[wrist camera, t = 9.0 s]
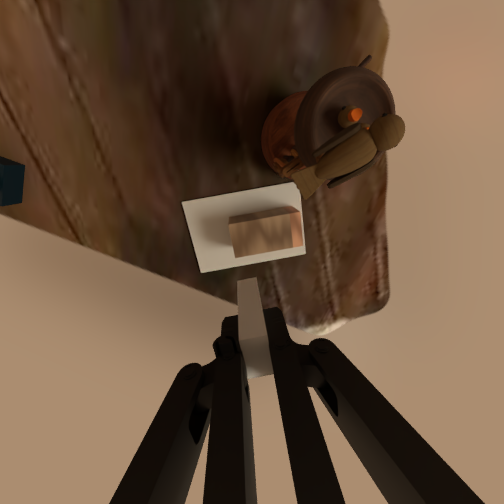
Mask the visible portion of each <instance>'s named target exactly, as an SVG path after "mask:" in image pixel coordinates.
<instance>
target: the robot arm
mask: <svg viewBox="0 0 504 504" xmlns="http://www.w3.org/2000/svg"><path fill="white" fill-rule="evenodd" d="M237 289H238V315H235V316H229V317H225V319H224V320H223V322H222V328H221V329H222V330H221V336H220V337H218V338H217V339H216V340H215V341H214V343H213V349H214V352H215V355H216V359H215V360H213V361H212V362H210V363H209V364H207V365H204V366H201V365H200V364H198V363H190V364H188V365H186V366H184V367H183V368H182V369H181V370H180V371H179V373H178V374H177V376H176V378H175V380H174V381H173V384H172V385H171V387H170V389H169V391H168V393H167V395H166V397H165V399H164V401H163V402H162V404H161V406H160V408H159V410H158V412H157V414H156V416H155V418H154V419H153V421H152V423H151V425H150V427H149V429H148V431H147V433H146V435H145V437H144V438H143V441H142V442H141V444H140V446H139V448H138V450H137V452H136V454H135V456H134V457H133V459H132V461H131V463H130V465H129V467H128V469H127V471H126V473H125V475H124V476H123V478H122V480H121V482H120V484H119V486H118V488H117V490H116V492H115V494H114V496H113V497H112V499H111V501H110V503H109V504H185V501H186V497H187V495H188V491H189V488H190V485H191V482H192V478H193V475H194V472H195V469H196V466H197V462H198V459H199V456H200V453H201V449H202V446H203V443H204V440H205V437H206V433H207V430H208V427H209V424H210V431H209V442H208V453H207V464H206V474H205V485H204V496H203V504H257V494H256V479H255V464H254V449H253V435H252V421H251V406H250V393H249V385H248V381H247V376H248V379H250V378H255V377H261V376H265V375H271V374H274V378H275V384H276V389H277V395H278V399H279V405H280V411H281V416H282V422H283V427H284V433H285V438H286V444H287V449H288V454H289V460H290V465H291V471H292V476H293V481H294V487H295V492H296V498H297V503H298V504H345V501H344V498H343V495H342V491H341V489H340V485H339V482H338V479H337V476H336V473H335V470H334V467H333V464H332V461H331V458H330V455H329V452H328V449H327V445H326V442H325V440H324V436H323V433H322V430H321V427H320V424H319V421H318V418H317V415H316V412H315V408H314V406H313V402H312V400H311V396H310V393H309V390H308V387H313V388H314V390H315V391H316V393H317V394H318V396H319V398H320V399H321V401H322V402H323V404H324V405H325V407H326V408H327V410H328V411H329V413H330V414H331V416H332V418H333V419H334V421H335V422H336V424H337V425H338V427H339V428H340V430H341V431H342V433H343V434H344V436H345V437H346V439H347V441H348V442H349V444H350V445H351V447H352V448H353V450H354V451H355V453H356V454H357V456H358V458H359V459H360V461H361V462H362V464H363V465H364V467H365V468H366V470H367V471H368V473H369V474H370V476H371V478H372V479H373V481H374V482H375V484H376V485H377V487H378V488H379V490H380V491H381V493H382V494H383V496H384V497H385V499H386V500H387V502H388V504H485V503H483V501H482V500H481V499H480V498H479V497H478V496H477V495H476V494H475V493H474V492H473V491H472V490H471V489H470V487H468V485H467V484H466V483H465V482H464V481H463V480H462V479H461V478H460V477H459V476H458V475H457V474H456V473H455V472H454V471H453V469H452V468H451V467H450V466H449V465H447V463H446V462H445V461H444V460H443V459H442V458H441V457H440V456H439V455H438V454H437V453H436V452H435V450H434V449H433V448H432V447H431V446H430V445H429V444H428V443H427V442H426V441H425V440H424V439H423V438H422V437H421V436H420V434H418V433H417V431H416V430H415V429H414V428H413V427H412V426H411V425H410V424H409V423H408V422H407V421H406V420H405V419H404V418H403V417H402V416H401V414H400V413H399V412H398V411H397V410H396V409H395V408H394V407H393V406H392V405H391V404H390V403H389V402H388V401H387V400H386V398H385V397H384V396H383V395H382V394H381V393H380V392H379V391H378V390H377V389H376V388H375V387H374V386H373V385H372V384H371V383H370V382H369V380H367V378H366V377H365V376H364V375H363V374H362V373H361V372H360V371H359V370H358V369H357V368H356V367H355V366H354V365H353V364H352V362H351V361H350V360H349V359H348V358H347V357H346V356H345V355H344V354H343V353H342V352H341V351H340V350H339V349H338V348H337V347H336V345H335V344H334V343H333V342H331V341H330V340H327V339H324V338H319V339H314V340H313V341H311V342H310V344H309V345H301V344H297V343H295V342H294V341H292V339H291V338H290V336H289V333H288V330H287V326H286V323H285V320H284V317H283V314H282V311H281V310H280V309H279V308H278V307H274V308H268V309H263V310H262V305H261V299H260V294H259V289H258V284H257V279H256V277H255V278H250V279H245V280H239V281H237Z"/></svg>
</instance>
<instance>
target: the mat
mask: <svg viewBox="0 0 504 504" xmlns="http://www.w3.org/2000/svg"><path fill="white" fill-rule="evenodd" d="M296 186H297V185H296V184H294V182H290V183H284V184H279V185H273V186H268V187H262V188H257V189H251V190H246V191H240V192H234V193H229V194H223V195H218V196H212V197H207V198H201V199H196V200H190V201H185V202H182V205H183V209H184V212H185V216H186V220H187V223H188V227H189V231H190V234H191V238H192V242H193V245H194V249H195V253H196V256H197V260H198V264H199V267H200V271H201V273H204V272H209V271H215V270H220V269H225V268H231V267H236V266H242V265H247V264H253V263H258V262H264V261H269V260H275V259H280V258H286V257H291V256H297V255H302V254H306V252H305V241H304V230H303V219H302V208H301V197H300V192H299V189H297V187H296ZM288 206H293V207H294V208H296V209H297V210H299V211H300V214H301V225H302V236H303V246H299V247H294V248H288V249H283V250H277V251H272V252H266V253H261V254H256V255H250V256H245V257H239V258H235V255H234V250H233V246H232V241H231V236H230V231H229V226H228V221H229V217H232V216H238V215H243V214H249V213H255V212H260V211H266V210H271V209H277V208H282V207H288Z"/></svg>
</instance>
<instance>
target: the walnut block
mask: <svg viewBox="0 0 504 504" xmlns="http://www.w3.org/2000/svg"><path fill="white" fill-rule="evenodd" d="M228 226H229V231H230V236H231V241H232V246H233V250H234V255H235V258H239V257H245V256H250V255H256V254H261V253H266V252H272V251H277V250H283V249H288V248H294V247H299V246H303V236H302V225H301V214H300V211H299V210H297V209H296V208H294V207H293V206H288V207H282V208H277V209H271V210H266V211H260V212H255V213H249V214H243V215H238V216H232V217H229V221H228Z"/></svg>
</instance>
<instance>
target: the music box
mask: <svg viewBox="0 0 504 504" xmlns="http://www.w3.org/2000/svg"><path fill="white" fill-rule="evenodd" d="M371 59H372V56H371V55H368V56H367V57H366V58H365V59H364V60H363V61H362V62H361V64H360V65H359V66H358V67H356V66H350V67H343V68H339V69H336V70H334V71H332V72H329V73H328V74H326V75H324V76H323V77H322V78H320V79H319V80H318V81H317V82H316V83H315V84H314V85H313V86H312V87H311V88H310V89H309V91H302V92H297V93H294V94H292V95H290V96H288V97H287V98H285V99H284V100H283V101H281V102H280V103H279V104H277V105H276V106H275V107H274V108H273V109H272V110H271V112H270V113H269V115H268V116H267V118H266V120H265V122H264V125H263V129H262V134H261V147H262V152H263V155H264V157H265V160H266V161H267V163H268V165H269V166H270V167H271V168H272V169H273V170H274V171H275V172H276V173H278V175H279V176H281V177H282V178H283V177H287V178H290V179H293V180H294V181H293V182H294V184H296V185H297V186H296V187H297V189H299V192H300V194H301V195H302V198H303V199H304V200H306V199H308V198H309V197H310V196H311V195H312V194H313V193H314V192H315V191H316V189H317V188H318V187H319V186H320V185H321V184H322V183H323V182H324V181H325V180H326V179H328V180H331V181H330V182H329V183H328V184H327V186H328V188H333V187H335V186H337V185H339V184H341V183H343V182H345V181H347V180H349V179H351V178H353V177H355V176H358V175H360V174H361V173H363V172H365V171H366V170H368V169H369V168H370V167H372V166H373V165H374V164H375V163H376V161H377V160H378V159H379V158H380V157H381V155H382V154H383V153H384V151H386V150H389V149H391V148H393V147H396V146H397V145H398V143H399V142H400V141H401V139H402V138H403V136H404V133H405V124H404V121H403V120H402V118H401V117H399V116H398V115H395V104H394V100H393V96H392V93H391V91H390V89H389V87H388V86H387V84H386V83H385V81H384V80H383V79H382V78H381V77H380V76H379V75H378V74H376V73H375V72H373V71H371V70H369V69H366V68H364V67H365V65H366V64H367V63H368V62H369V61H370V60H371Z"/></svg>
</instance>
